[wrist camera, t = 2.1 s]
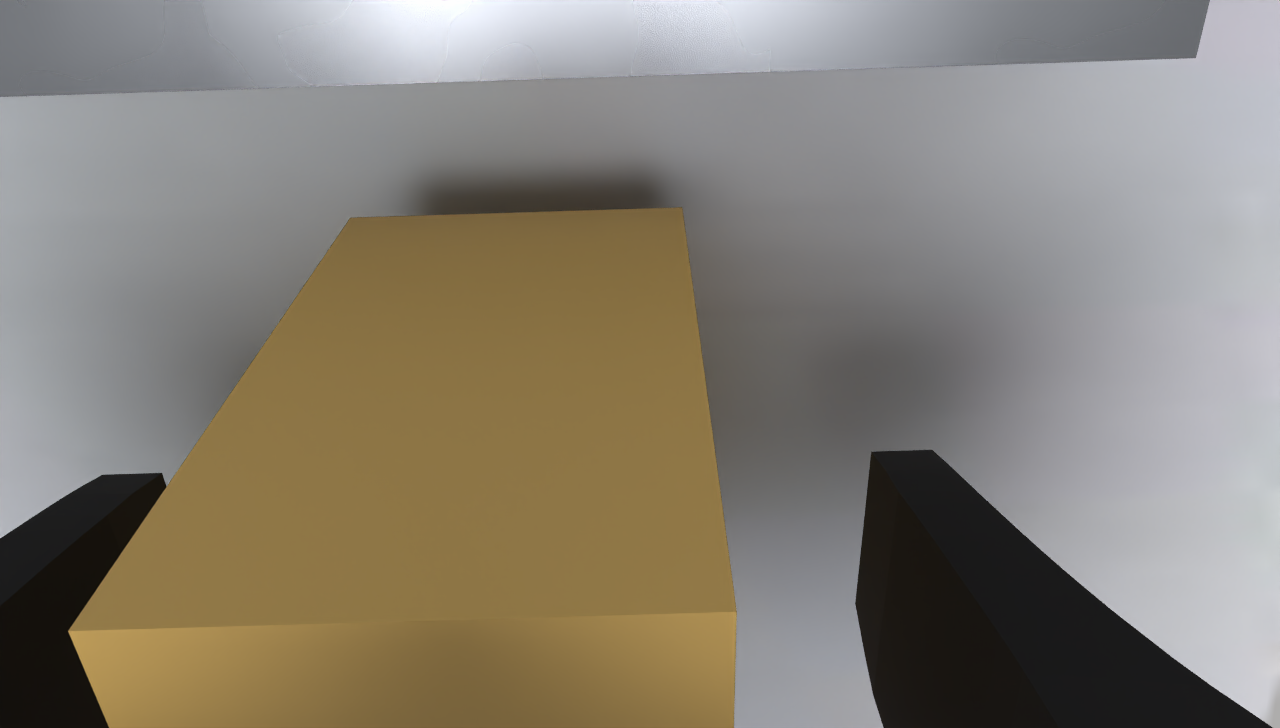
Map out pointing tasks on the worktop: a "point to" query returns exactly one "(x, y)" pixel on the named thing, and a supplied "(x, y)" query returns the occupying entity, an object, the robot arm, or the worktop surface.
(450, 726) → the tan rectangular block
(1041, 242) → the worktop surface
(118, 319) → the worktop surface
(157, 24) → the recessed gray tray
